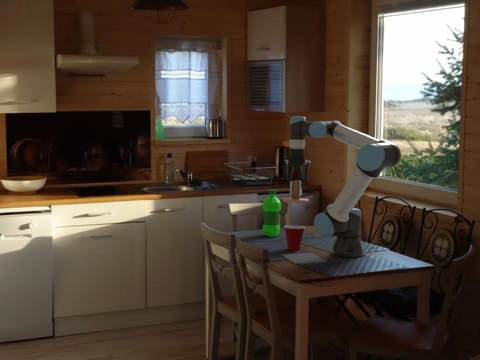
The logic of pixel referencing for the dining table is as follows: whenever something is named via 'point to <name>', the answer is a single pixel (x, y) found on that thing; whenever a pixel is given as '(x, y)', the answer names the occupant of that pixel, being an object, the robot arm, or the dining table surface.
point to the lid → (295, 194)
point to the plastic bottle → (271, 214)
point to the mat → (303, 258)
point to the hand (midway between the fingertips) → (295, 195)
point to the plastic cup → (294, 236)
